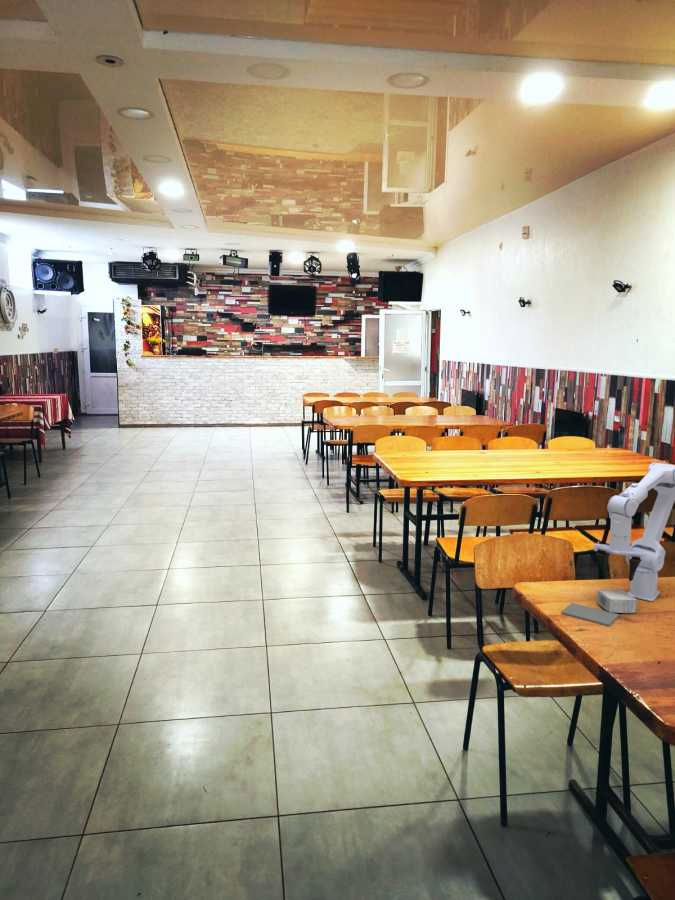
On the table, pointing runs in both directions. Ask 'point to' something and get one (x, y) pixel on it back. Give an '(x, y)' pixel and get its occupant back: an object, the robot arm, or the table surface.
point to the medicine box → (617, 601)
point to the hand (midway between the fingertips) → (617, 577)
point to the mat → (590, 614)
